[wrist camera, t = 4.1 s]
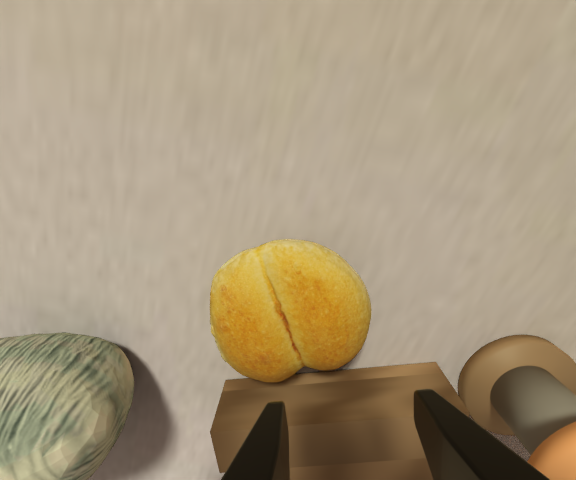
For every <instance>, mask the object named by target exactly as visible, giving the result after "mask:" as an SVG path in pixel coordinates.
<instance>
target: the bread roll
mask: <svg viewBox="0 0 576 480" xmlns="http://www.w3.org/2000/svg"><path fill="white" fill-rule="evenodd" d="M210 296H211V297H210V315H211V316H210V324H211V333H212V334H213V336H214V337H215V342H216V344H217V347H218V349H219V351H220V353H221V356H222V358H223V359H224V361H225V362H227V363H229V364H230V365H231V366H232V367H233V368H234V369H235V370H236V371H237V372H239V373H240V374H242V375H244V376H246V377H249V378H252V379H255V380H259V381H263V382H280V381H283V380H285V379H287V378H289V377H291V376H292V375H294V374H295V373H296V372H297V371H298V370H300V369H301V368H302V367H304V366H307V367H310V368H313V369H318V370H324V371H327V370H335V369H337V368H339V367H341V366H343V365H345V364H347V363H348V362H349V361H351V360H352V359H353V358H354V357H355V356H356V355H357V353H358V352H359V351H360V350H361V348H362V346H363V344H364V342H365V339H366V337H367V333H368V329H369V324H370V319H371V303H370V298H369V295H368V292H367V289H366V287H365V284H364V283H363V281H362V280H361V278H360V276H359V275H358V274H357V273H356V272H355V270H354V269H353V268H352V267H351V266H350V265H349V264H348V263H347V262H346V261H345V260H344V259H343V258H342V257H340V256H339V255H338V254H337V253H335V252H333V251H331V250H330V249H328V248H326V247H324V246H322V245H319V244H317V243H313V242H310V241H304V240H293V239H287V240H286V239H284V240H275V241H271V242H268V243H265V244H263V245H260V246H259V247H255V248H251V249H247V250H245V251H242V252H240V253H238V254H237V255H235V256H234V257H233V258H231V259H230V260H229V261H227V262H226V263H225V264H224V265H223V266H222V267H221V268H220V269H219V270H218V271H217V273H216V274H215V276H214V278H213V281H212V285H211V293H210Z"/></svg>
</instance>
